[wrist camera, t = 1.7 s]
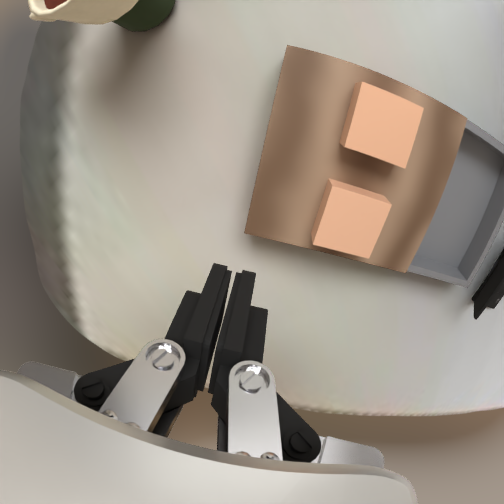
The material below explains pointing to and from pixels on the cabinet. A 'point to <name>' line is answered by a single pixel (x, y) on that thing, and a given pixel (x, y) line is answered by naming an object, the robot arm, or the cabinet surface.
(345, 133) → the tile
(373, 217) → the tile
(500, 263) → the black sloped piece
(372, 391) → the cabinet surface
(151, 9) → the character mug
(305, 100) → the board
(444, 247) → the box
